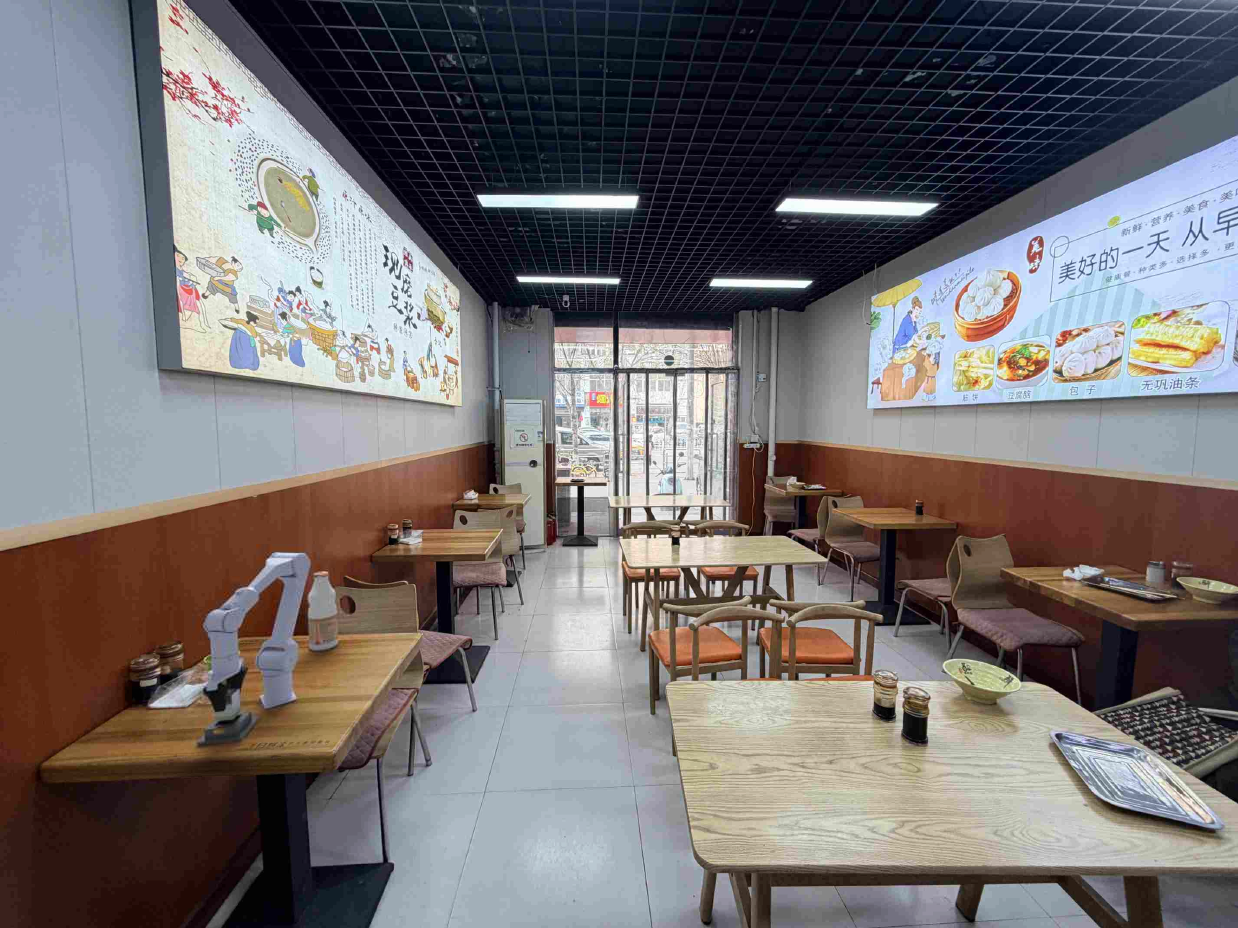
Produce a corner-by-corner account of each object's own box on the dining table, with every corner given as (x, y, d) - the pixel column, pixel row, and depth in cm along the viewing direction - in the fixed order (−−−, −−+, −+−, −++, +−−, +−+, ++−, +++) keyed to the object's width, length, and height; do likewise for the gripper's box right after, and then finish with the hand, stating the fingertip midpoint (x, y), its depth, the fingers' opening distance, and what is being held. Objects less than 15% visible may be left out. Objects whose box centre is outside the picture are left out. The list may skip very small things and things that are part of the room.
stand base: (218, 724, 142) (217, 712, 141) (258, 719, 144) (258, 707, 144) (196, 746, 132) (196, 732, 132) (241, 740, 134) (240, 727, 134)
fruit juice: (303, 651, 189) (300, 576, 188) (319, 640, 199) (316, 569, 197) (329, 651, 189) (326, 576, 187) (343, 640, 199) (340, 569, 197)
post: (223, 712, 139) (222, 689, 139) (240, 710, 140) (239, 687, 140) (215, 721, 135) (214, 697, 135) (233, 719, 136) (231, 695, 136)
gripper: (222, 644, 143) (225, 691, 144) (191, 667, 129) (194, 720, 129) (251, 642, 144) (253, 688, 145) (223, 664, 130) (226, 716, 131)
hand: (227, 703), depth 137 cm, fingers open, 7 cm apart
